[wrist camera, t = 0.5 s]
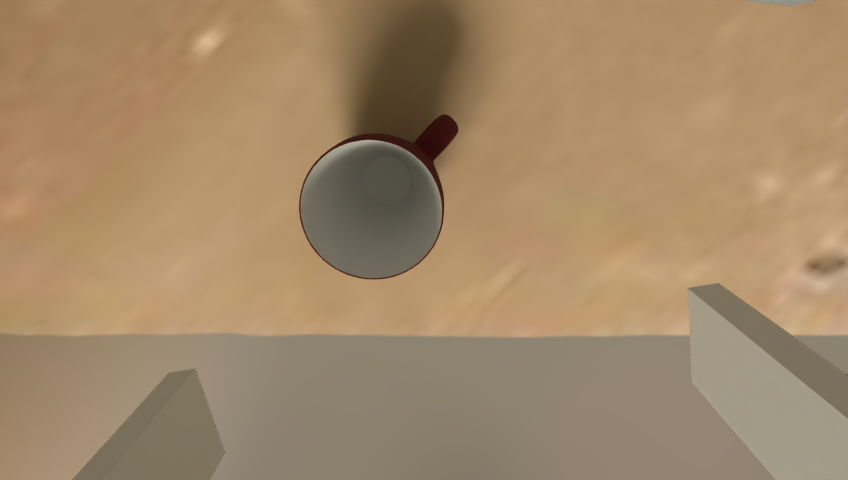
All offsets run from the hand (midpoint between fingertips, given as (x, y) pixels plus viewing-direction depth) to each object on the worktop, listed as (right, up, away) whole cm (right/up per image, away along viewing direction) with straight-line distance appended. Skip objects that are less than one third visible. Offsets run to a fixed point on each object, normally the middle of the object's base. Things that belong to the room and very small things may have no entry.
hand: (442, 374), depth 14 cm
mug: (-2, +9, +24) cm, 26 cm away
